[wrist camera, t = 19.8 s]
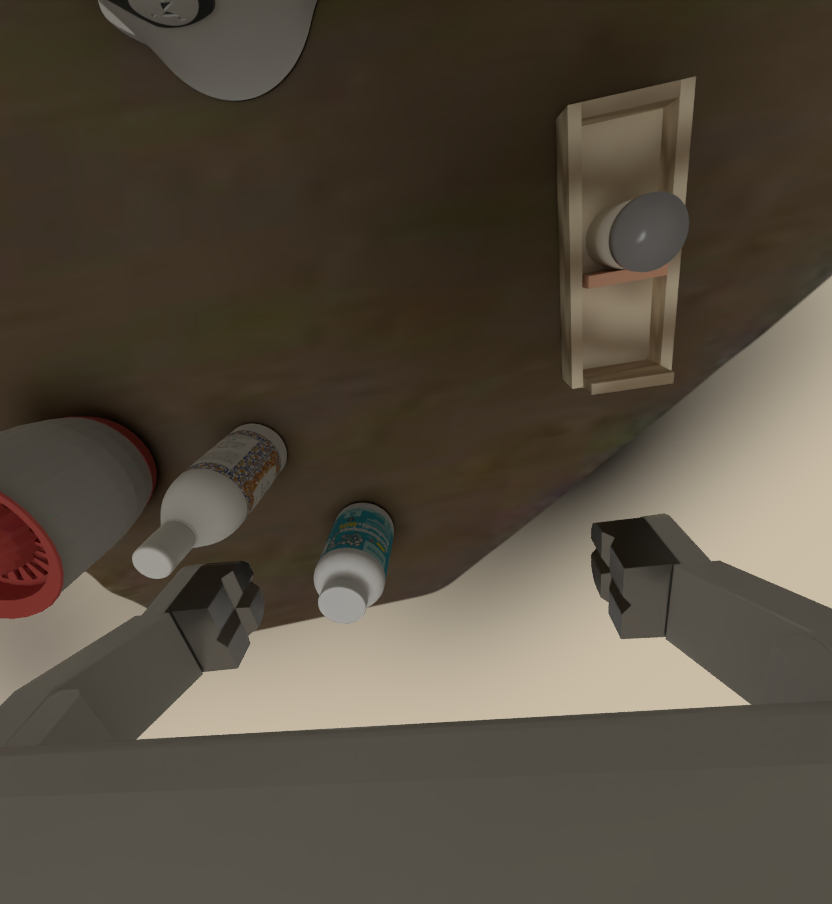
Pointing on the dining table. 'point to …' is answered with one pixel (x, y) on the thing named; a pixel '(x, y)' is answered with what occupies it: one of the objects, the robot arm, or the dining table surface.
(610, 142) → the wooden tray
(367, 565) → the pill bottle
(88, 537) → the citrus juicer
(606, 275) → the block
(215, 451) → the bath foam
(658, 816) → the robot arm
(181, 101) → the dining table surface
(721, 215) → the dining table surface
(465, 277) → the dining table surface
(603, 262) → the cream jar
